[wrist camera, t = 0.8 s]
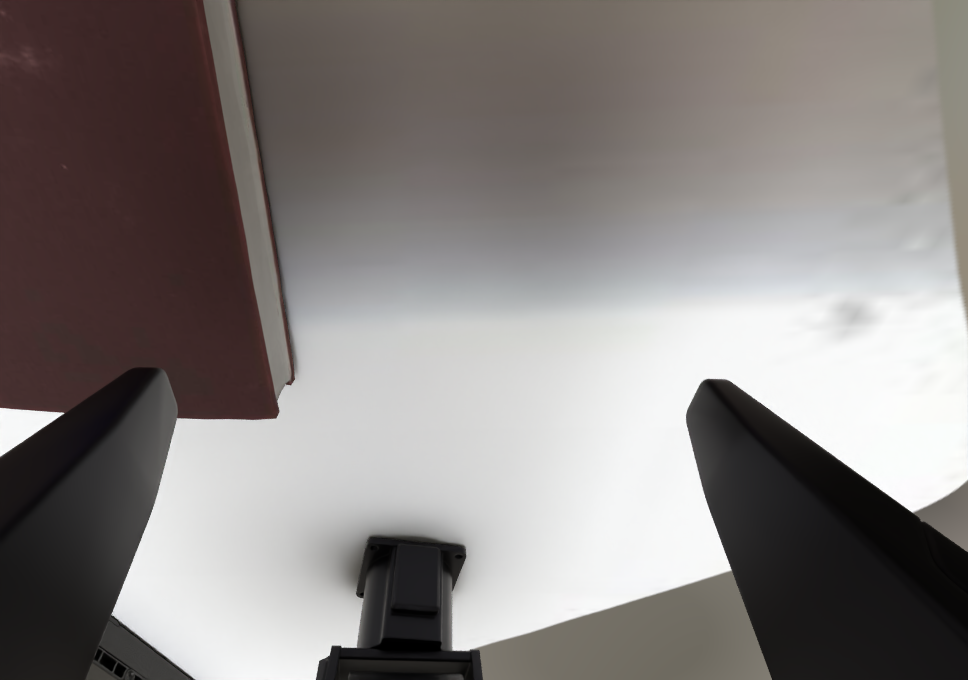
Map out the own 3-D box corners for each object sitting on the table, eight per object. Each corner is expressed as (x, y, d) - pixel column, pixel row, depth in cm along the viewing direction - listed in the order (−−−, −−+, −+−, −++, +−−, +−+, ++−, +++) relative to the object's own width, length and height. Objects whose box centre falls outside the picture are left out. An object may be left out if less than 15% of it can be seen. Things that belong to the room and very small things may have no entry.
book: (28, 368, 26) (-20, 416, 23) (-264, -191, 15) (-421, -222, 12) (299, 375, 27) (282, 422, 24) (219, -140, 16) (172, -158, 13)
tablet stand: (26, 582, 36) (-5, 628, 33) (61, 575, 36) (32, 621, 33) (179, 693, 46) (164, 734, 44) (207, 688, 46) (193, 729, 43)
